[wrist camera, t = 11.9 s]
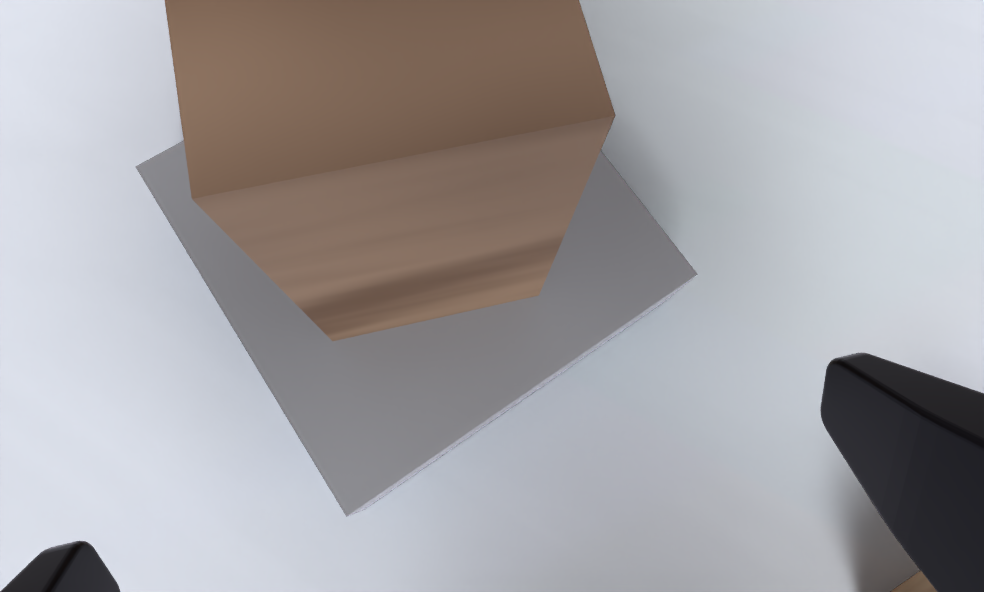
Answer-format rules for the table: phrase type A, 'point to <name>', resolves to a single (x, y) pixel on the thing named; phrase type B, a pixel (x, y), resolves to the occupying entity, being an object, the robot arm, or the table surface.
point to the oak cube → (915, 584)
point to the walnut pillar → (390, 146)
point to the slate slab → (428, 336)
